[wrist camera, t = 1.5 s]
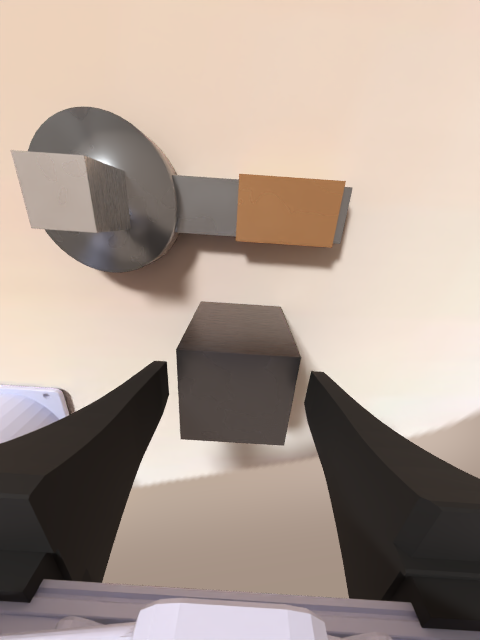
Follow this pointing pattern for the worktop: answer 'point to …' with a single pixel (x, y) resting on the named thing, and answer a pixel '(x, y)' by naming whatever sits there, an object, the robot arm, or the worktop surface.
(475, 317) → the worktop surface
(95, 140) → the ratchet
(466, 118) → the worktop surface
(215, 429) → the dark grey block
